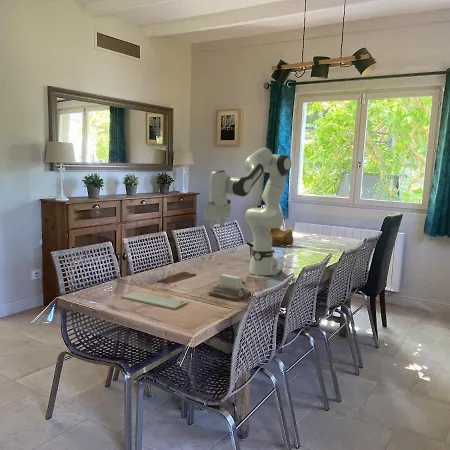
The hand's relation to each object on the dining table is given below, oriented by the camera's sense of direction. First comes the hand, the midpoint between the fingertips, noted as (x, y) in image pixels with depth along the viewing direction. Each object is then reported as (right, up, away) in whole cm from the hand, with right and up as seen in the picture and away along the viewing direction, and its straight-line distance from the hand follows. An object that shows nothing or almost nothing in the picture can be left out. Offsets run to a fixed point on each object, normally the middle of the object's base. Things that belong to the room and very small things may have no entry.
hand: (216, 227), depth 236 cm
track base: (+7, -34, -15) cm, 37 cm away
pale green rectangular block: (+7, -32, -15) cm, 36 cm away
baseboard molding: (-29, -35, -26) cm, 53 cm away
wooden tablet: (-23, -30, +14) cm, 40 cm away
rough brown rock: (+46, -16, +123) cm, 132 cm away
